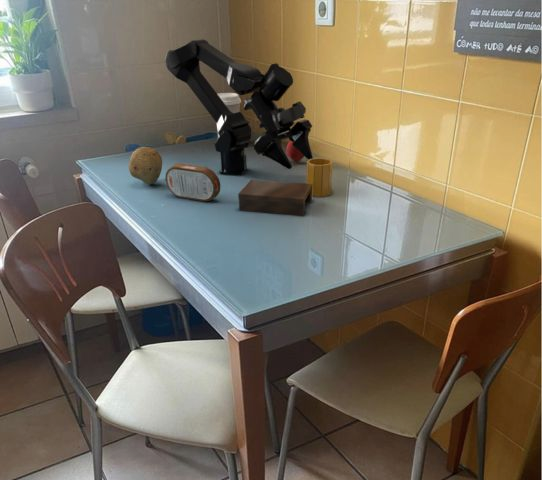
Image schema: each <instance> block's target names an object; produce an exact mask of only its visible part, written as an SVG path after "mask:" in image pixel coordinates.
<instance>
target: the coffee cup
mask: <svg viewBox="0 0 542 480" xmlns="http://www.w3.org/2000/svg"><path fill="white" fill-rule="evenodd" d="M217 94H218V96H219V97H220V98H221V100H222V101H223V102H224V104H225V105H226V106H227V108H228V109H229V110H230V111H231V112H232V113H237V112H241V111H240V110H241V103H242V100H241V97H240V95H239V94H237V93H236V92H220V93H217ZM215 124H216V125H217V123H216V122H215ZM216 130H217V129H216ZM217 132H218V130H217ZM219 137H220V136H219V134H218V133H217V138H219Z"/></svg>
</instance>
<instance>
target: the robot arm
mask: <svg viewBox="0 0 542 480" xmlns="http://www.w3.org/2000/svg"><path fill="white" fill-rule="evenodd" d="M164 61H165V66H166V68H167V70H168V71H169V72H170V74H171V75H173V76H174V78H176V79H177V80H179V81H181V82H183V83H185V84H187V86H188V87H189V88H190V90H191V91H192V92H193V94H194V96H196V98H197V99H198V100H199V102H200V103H201V105H202V106H203V107H204V109H205V110H206V111H207V112H208V114H209V115H210V116H211V117H212V119H213V121H214V122H215V124H216V123H217V124H216V130H218V131H217V135H218V134H219V136H220V137H217V139H216V141H215V142H214V148H215V151H216V152H218V153H220V165H221V166H220V167H221V169H220V170H219V174H222V175H223V174H224V175H238V176H239V175H240V176H241V175H242V174H244V172H245V171H246V170H247V169H248V165H247V154H246V153H245V149H247V148H249V145H250V140H251V138H252V128H251V125H250V122H249V120H247V119H246V118H245V116H244V114H243V113H242V112H241V111H240V112H237V113H232V112H231V111H230V110H229V109H228V108H227V106H226V105H225V104H224V102H223V101H222V100H221V98H220V97H219V96H218V94H219V93H217V92H216V90H215V88H213V86H212V85H211V84H210V83H209V81H208V80H207V78H206V77H205V76H204V74H203V73H202V71H201V65H200V62H202V63H203V64H205V66H207V67H209V68H210V69H212V70H214V71H215V72H216V73H218V74H219V75H220V76H222V77H223V78H225V80H226V81H227V83H228V84H227V85H228V86H229V88H231V90H233V91H234V93H236V94H238V95H239V96H244V95H248V94H251V95H250V97H247V98H245V99H244V104H243V110H244V111H248V110H252V111H253V112H254V114H255V116H256V117H257V119H258V121H259V122H260V123H259V124H258V127H259V128H260V129H264V130H265V131H264V132H262V133H261V134H260V136H259V137H258V138H257V139H256V140H255V142H254V143H253V149H254V152H255V153H256V154H257V156H259V155H261V156H262V157H266V158H269V159H270V160H272V161H274V162H276V163H277V164H279V165H281V166H283V167H284V168H286V169H288V170H291V169H292V168H293V164H292V163H291V161H290V158H289V157H288V155H287V153H285V152H286V151H284V149H283V147H282V141H284V140H287V139H288V140H289V142H290V141H292V142H293V143H292V145H293V146H294V147H295V148H296V149H297V150H298V151H300V152H301V153H302V154H303V155H304V157H305V159H306V160H307V161H308V160H309V159H313V158H314V156H313V153H312V150H311V147H310V141H309V135H310V133H311V131H312V128H313V125H312V123H311V122H310V120H309V119H306V118H305V115H306V110H307V108H306V106H305V105H304V103H302V101H297V102H295V103H292V105H291V107H288V108H286V109H285V108H284V107H278V105H277V104H276V102H279V101H280V100H281V99H282V98H283V96H285V94H286V93H287V92H288V90H289V89H290V88H291V87H292V85H293V84H294V77H293V75H292V74H291V72H289V71H288V70H286V69H285V68H284V67H282V66H280V65H279V63H277V62H274V63H271V64H270V66H269V67H268V69H267V71H266V72H265V73H262V72H261V71H260V69H259V68H257V67H254V66H252V65H249V64H246V63H240V62H238V61H235V60H234V59H232V58H231V57H230V56H228V55H226V54H225V53H224V52H222V51H221V50H219V49H218V48H216V47H214V46H213V45H212V44H210V43H209V42H208V41H207V40H206V39H205V38H201V39H194V40H193V39H192V40H191V41H189V42H188V43H186V44H185V45H183V46H180V47H177V48H176V49H170V50H168V51H167V52H166V55H165V60H164ZM300 119H301V120H300ZM295 121H297V122H295Z"/></svg>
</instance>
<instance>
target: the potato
mask: <svg viewBox="0 0 542 480" xmlns="http://www.w3.org/2000/svg"><path fill="white" fill-rule="evenodd" d="M162 168H163V158H162V156H161V153H159V152H158V151H157V150H156V149H155V148H153V147H149V146H140V147H138V148H136V149H135V150H134V151H133V152H132V154H131V155H130V159H129V162H128V171H129V174H130V175H131V177H133V178H134V179H137V180H140V181H141V182H143V183H144V184H146V185H154V184H155V183H156V182H157V181H158V180H159V179H160V176H161V173H162V170H163V169H162Z"/></svg>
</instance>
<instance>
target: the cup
mask: <svg viewBox="0 0 542 480" xmlns="http://www.w3.org/2000/svg"><path fill="white" fill-rule="evenodd" d="M333 168H334V162H333V160H332V159H329V158H326V157H315V158H314V157H313V159H309V160H308V159H307V161H306V175H305V176H306V177H305V178H306V179H305V180H306V181H305V183H307V184H312V197H318V198H323V197H328V196H330V195H331V194H332V186H333V170H334V169H333Z"/></svg>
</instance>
